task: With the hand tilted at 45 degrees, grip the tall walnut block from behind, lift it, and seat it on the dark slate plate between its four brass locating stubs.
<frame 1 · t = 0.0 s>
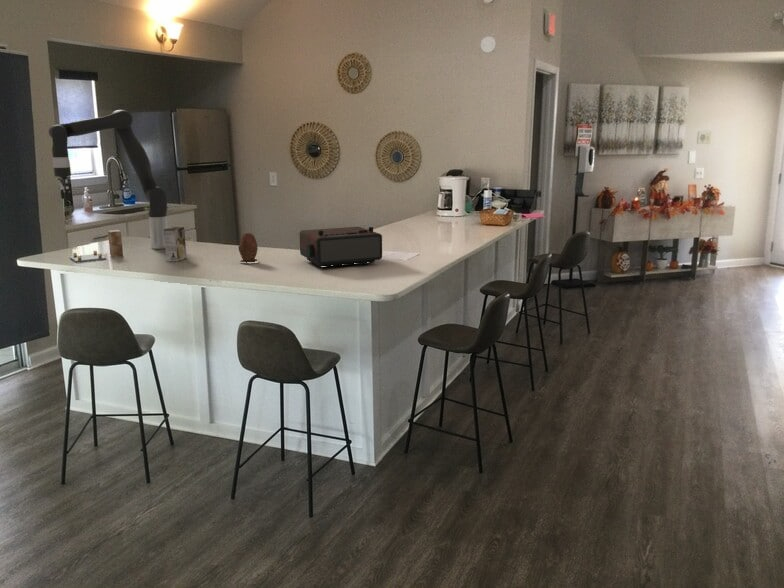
hand: (65, 199, 340), 29 cm above the countertop, tool pointing down, fingers open, 8 cm apart
coffee box: (176, 260, 339), on the countertop
walnut block: (116, 256, 350), on the countertop
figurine: (248, 263, 332), on the countertop
radio receiver: (338, 264, 330), on the countertop
dock: (87, 259, 341), on the countertop
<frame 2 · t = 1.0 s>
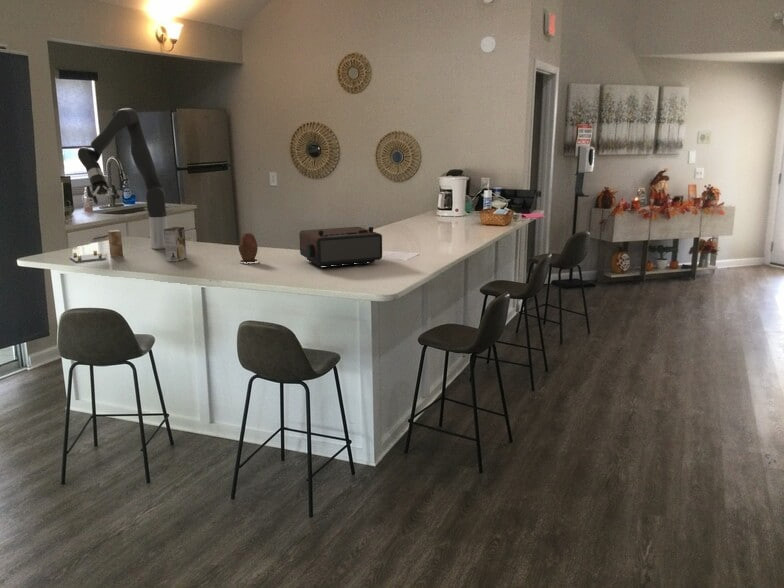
hand: (105, 202, 352), 26 cm above the countertop, tool tilted 45°, fingers open, 8 cm apart
nothing on the countertop moved.
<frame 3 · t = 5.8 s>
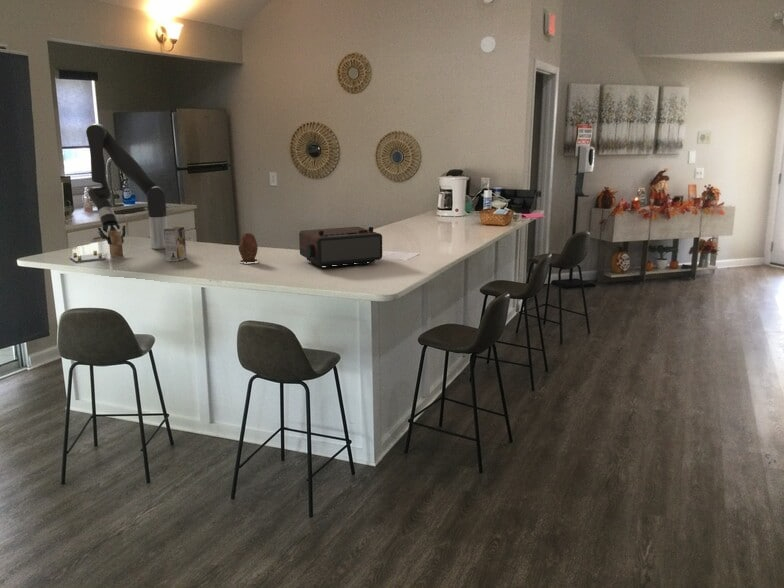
hand: (116, 243, 347), 7 cm above the countertop, tool tilted 45°, fingers closed on walnut block, 5 cm apart
walnut block: (116, 255, 350), on the countertop, touching gripper
everything else where it was.
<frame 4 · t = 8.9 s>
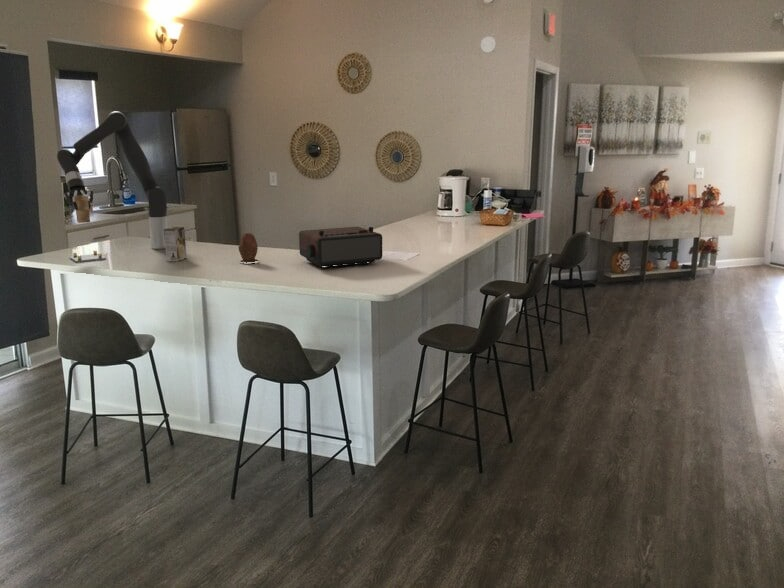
hand: (83, 208, 334), 25 cm above the countertop, tool tilted 45°, fingers closed on walnut block, 5 cm apart
walnut block: (83, 222, 337), point 19 cm above the countertop, touching gripper
everything else where it was.
when the fingers open (9 cm above the countertop, at t = 12.5 s): walnut block drops 1 cm, resting on dock.
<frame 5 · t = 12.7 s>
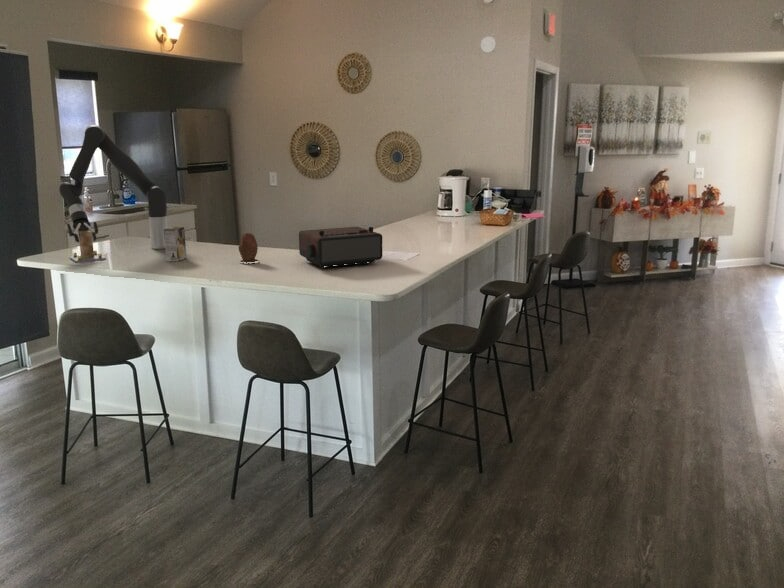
hand: (86, 240, 338), 9 cm above the countertop, tool tilted 45°, fingers open, 7 cm apart
walnut block: (87, 257, 341), point 1 cm above the countertop, touching dock
everything else where it was.
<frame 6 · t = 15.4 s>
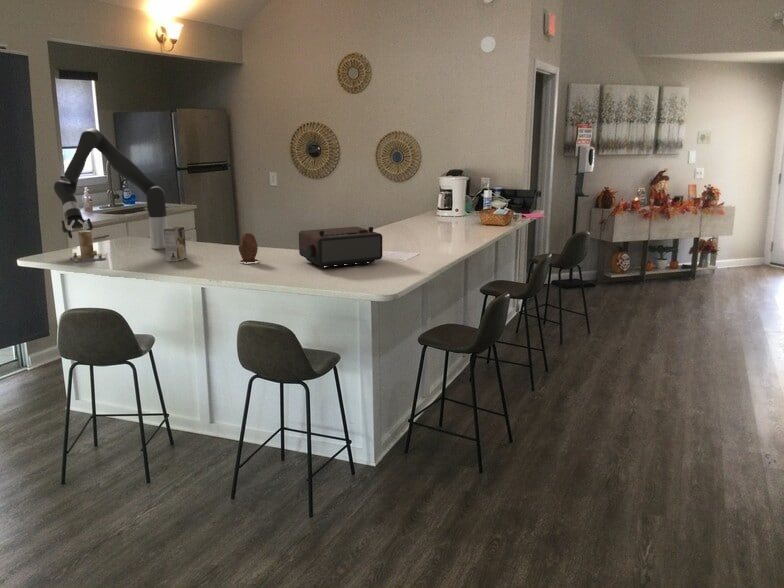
hand: (80, 236, 348), 10 cm above the countertop, tool tilted 45°, fingers open, 8 cm apart
nothing on the countertop moved.
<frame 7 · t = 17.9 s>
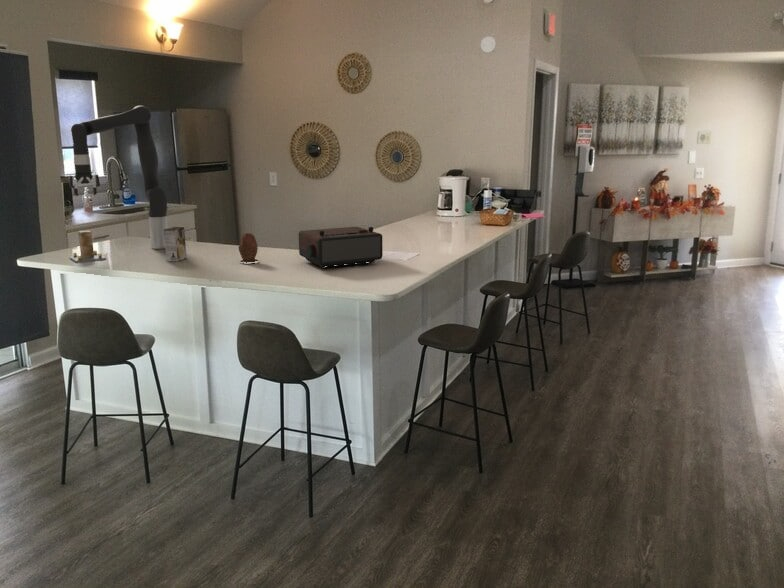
hand: (85, 195, 351), 30 cm above the countertop, tool pointing down, fingers open, 8 cm apart
nothing on the countertop moved.
at the end: walnut block 0.1 cm off-centre on the dock, point 1.0 cm above the dock's base; walnut block tilted 0°; the gripper is holding nothing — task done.
